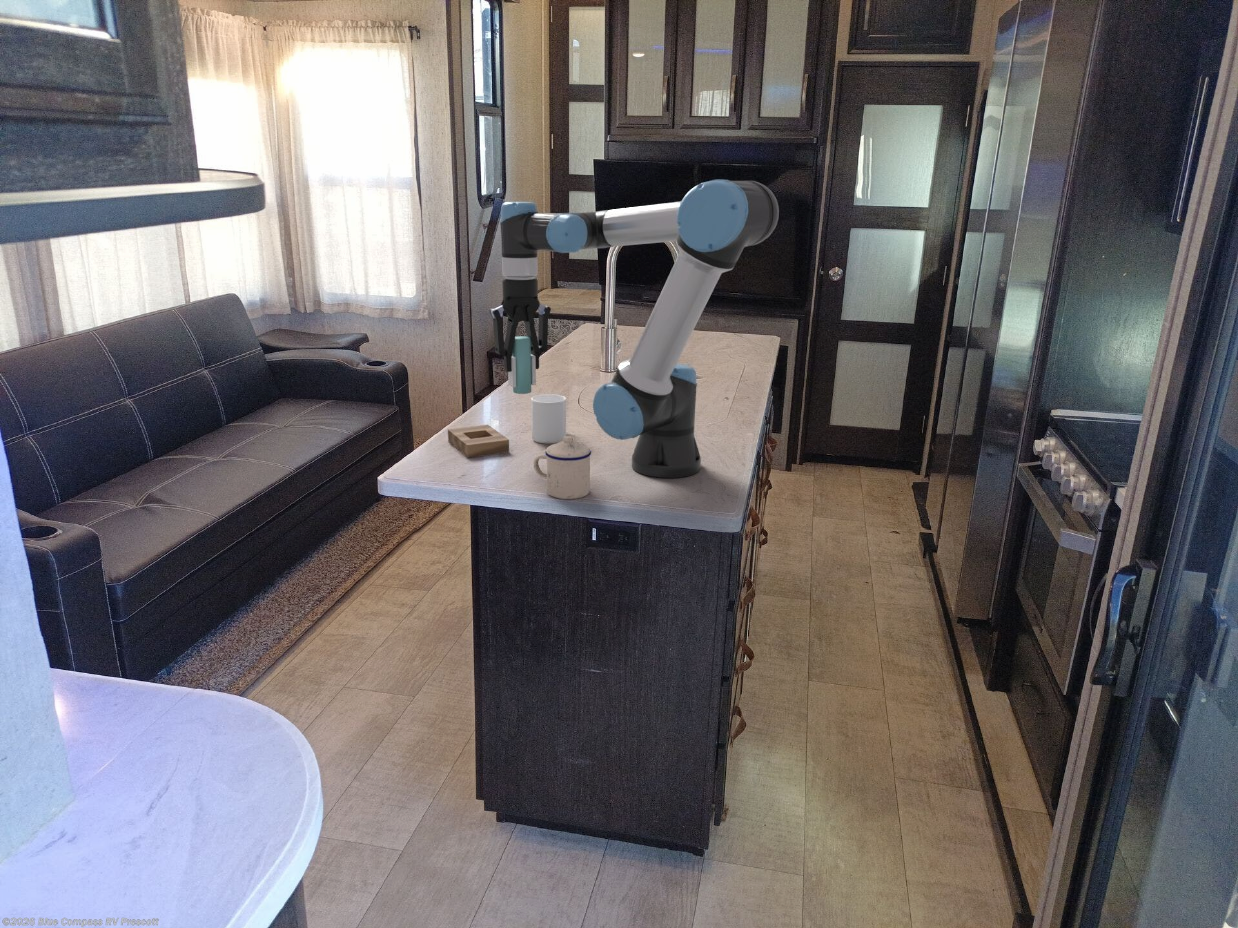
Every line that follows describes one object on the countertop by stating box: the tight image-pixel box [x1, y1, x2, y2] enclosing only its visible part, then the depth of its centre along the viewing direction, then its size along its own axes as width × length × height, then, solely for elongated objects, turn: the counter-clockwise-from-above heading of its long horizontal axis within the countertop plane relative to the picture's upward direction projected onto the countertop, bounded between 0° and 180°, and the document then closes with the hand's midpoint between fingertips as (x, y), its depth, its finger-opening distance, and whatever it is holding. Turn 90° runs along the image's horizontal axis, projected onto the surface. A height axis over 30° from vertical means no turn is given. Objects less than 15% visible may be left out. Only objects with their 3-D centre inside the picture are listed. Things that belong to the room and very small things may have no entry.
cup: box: [530, 393, 567, 445], centre depth 212 cm, size 8×12×10 cm
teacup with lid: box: [533, 435, 592, 500], centre depth 175 cm, size 12×9×12 cm
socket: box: [447, 424, 510, 459], centre depth 204 cm, size 14×10×3 cm
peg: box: [512, 335, 532, 395], centre depth 192 cm, size 4×4×12 cm
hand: (522, 384), depth 193 cm, fingers closed on peg, 4 cm apart
